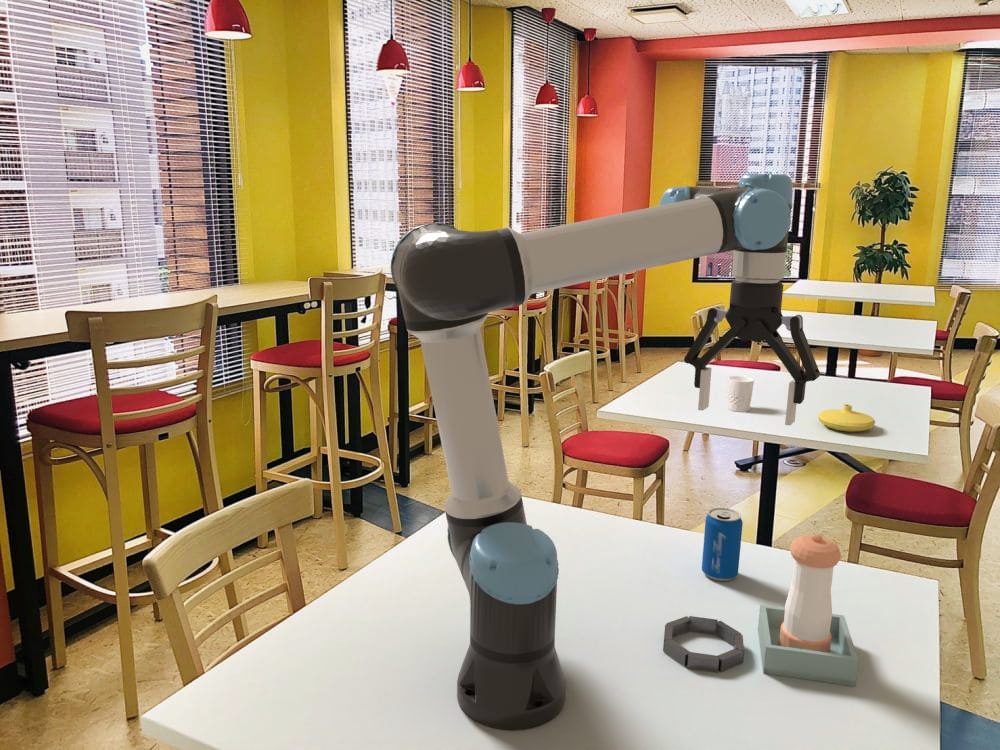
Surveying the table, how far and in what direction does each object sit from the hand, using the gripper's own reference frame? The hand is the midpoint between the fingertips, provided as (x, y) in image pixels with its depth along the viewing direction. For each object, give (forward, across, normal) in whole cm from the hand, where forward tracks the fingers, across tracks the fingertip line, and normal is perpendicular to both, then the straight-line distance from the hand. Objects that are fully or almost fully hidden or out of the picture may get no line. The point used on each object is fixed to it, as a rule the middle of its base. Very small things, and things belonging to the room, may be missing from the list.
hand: (745, 415), depth 128 cm
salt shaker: (+34, -13, +5) cm, 37 cm away
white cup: (+35, +39, -127) cm, 138 cm away
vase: (+35, +7, -126) cm, 131 cm away
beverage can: (+35, +6, -14) cm, 38 cm away
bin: (+35, -13, +5) cm, 37 cm away
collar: (+35, 0, +12) cm, 37 cm away
